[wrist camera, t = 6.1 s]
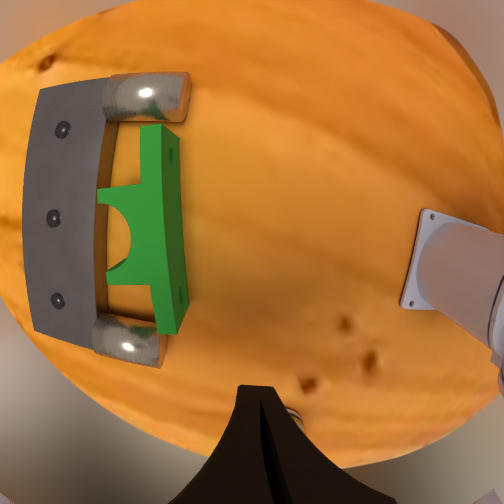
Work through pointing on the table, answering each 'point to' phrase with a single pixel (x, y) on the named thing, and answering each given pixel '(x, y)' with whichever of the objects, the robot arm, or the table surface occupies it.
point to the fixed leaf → (86, 208)
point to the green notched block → (154, 228)
